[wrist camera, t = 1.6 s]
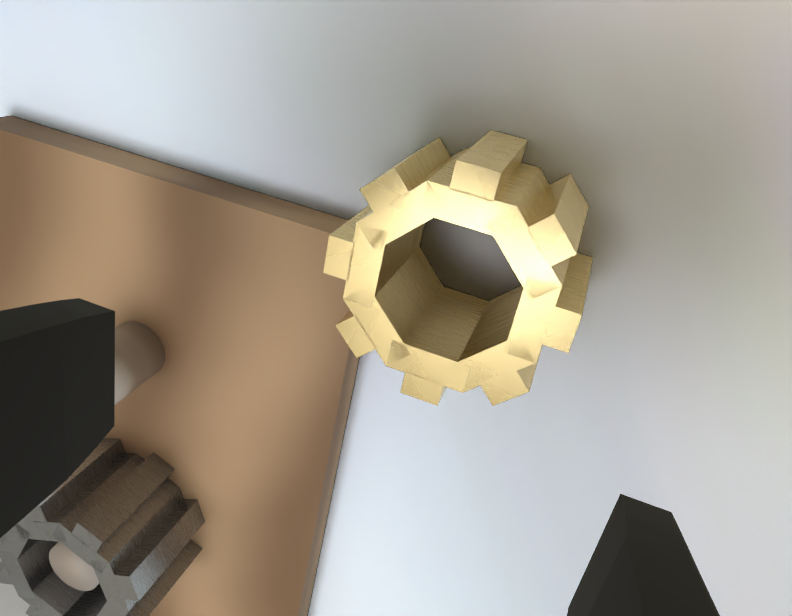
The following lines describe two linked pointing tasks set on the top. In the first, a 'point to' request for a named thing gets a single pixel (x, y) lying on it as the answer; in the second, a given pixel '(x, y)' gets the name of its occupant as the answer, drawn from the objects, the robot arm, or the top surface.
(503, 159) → the brass gear
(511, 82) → the top surface
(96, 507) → the gear
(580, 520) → the top surface
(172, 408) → the gear board
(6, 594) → the cup
